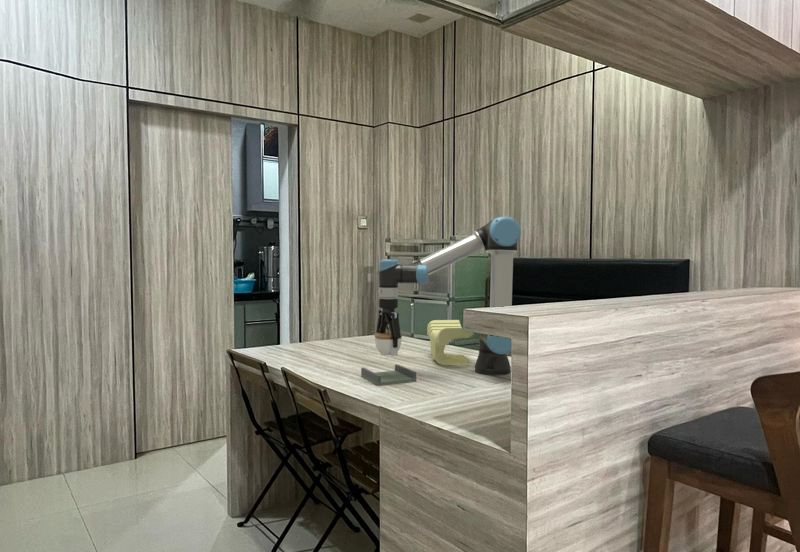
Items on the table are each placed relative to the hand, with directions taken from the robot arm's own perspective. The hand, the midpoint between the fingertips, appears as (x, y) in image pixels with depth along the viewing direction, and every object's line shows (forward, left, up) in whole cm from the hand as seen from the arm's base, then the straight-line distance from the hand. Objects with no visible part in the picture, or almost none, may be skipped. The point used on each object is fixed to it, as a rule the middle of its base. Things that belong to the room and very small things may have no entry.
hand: (388, 353), depth 212 cm
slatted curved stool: (-41, -20, -11) cm, 47 cm away
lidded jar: (0, 0, 0) cm, 0 cm away
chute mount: (0, 0, -10) cm, 10 cm away
